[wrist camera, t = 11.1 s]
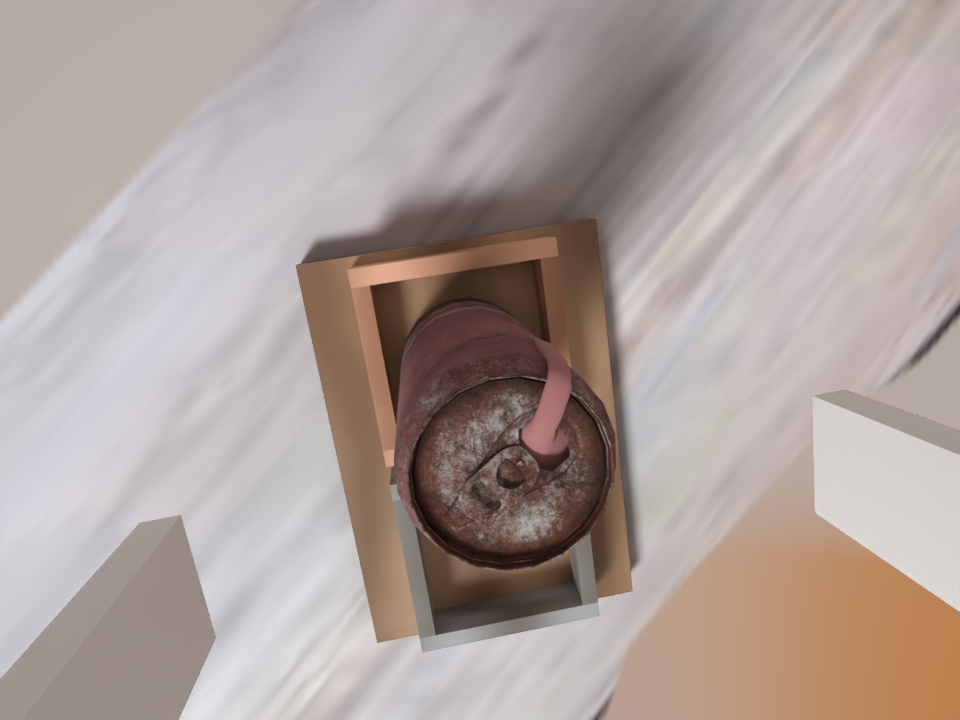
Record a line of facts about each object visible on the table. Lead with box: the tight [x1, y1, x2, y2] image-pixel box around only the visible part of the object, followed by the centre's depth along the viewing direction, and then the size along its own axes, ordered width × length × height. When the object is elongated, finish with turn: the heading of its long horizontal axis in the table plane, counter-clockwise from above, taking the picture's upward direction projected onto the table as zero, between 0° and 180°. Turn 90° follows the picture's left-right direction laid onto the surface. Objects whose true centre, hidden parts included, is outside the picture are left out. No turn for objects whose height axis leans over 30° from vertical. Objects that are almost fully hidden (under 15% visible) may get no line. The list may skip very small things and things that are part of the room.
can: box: [394, 298, 616, 572], centre depth 22 cm, size 6×6×14 cm
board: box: [296, 219, 633, 652], centre depth 29 cm, size 14×20×3 cm
